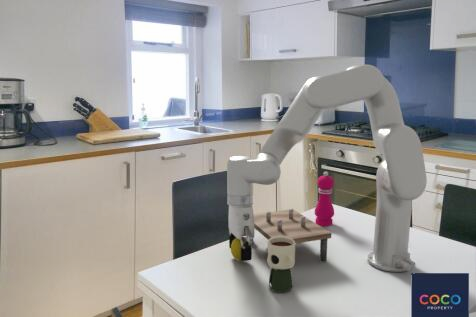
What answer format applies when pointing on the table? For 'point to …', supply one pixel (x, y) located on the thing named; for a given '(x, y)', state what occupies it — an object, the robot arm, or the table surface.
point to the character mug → (281, 262)
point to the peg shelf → (292, 228)
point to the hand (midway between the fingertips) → (240, 253)
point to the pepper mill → (324, 201)
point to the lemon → (236, 248)
